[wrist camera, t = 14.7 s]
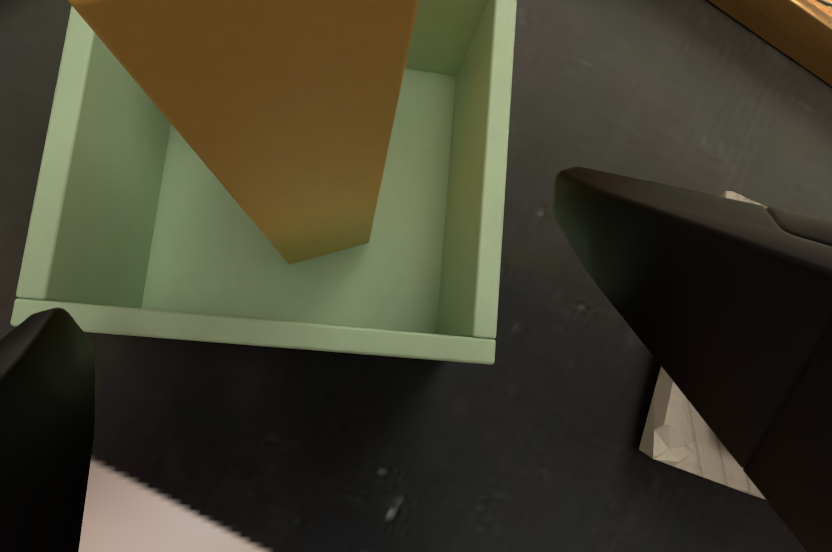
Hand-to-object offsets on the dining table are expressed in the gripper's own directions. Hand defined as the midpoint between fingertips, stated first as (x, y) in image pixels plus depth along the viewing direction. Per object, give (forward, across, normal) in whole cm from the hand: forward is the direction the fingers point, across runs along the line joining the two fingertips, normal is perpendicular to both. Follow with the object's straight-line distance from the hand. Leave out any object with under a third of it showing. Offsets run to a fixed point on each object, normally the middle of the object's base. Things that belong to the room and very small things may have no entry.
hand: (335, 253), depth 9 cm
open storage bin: (+8, 0, +3) cm, 9 cm away
